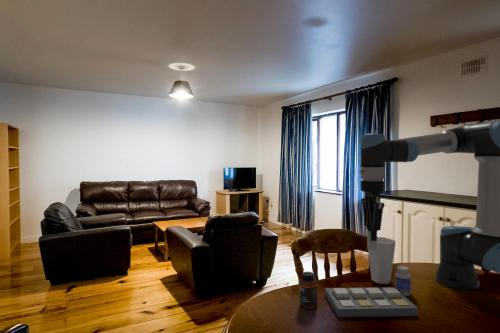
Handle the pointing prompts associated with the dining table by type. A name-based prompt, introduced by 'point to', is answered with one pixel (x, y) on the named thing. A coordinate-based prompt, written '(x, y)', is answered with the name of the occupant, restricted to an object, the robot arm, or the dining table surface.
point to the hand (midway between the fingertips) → (372, 249)
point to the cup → (382, 260)
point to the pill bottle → (403, 280)
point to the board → (371, 305)
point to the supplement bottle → (308, 290)
